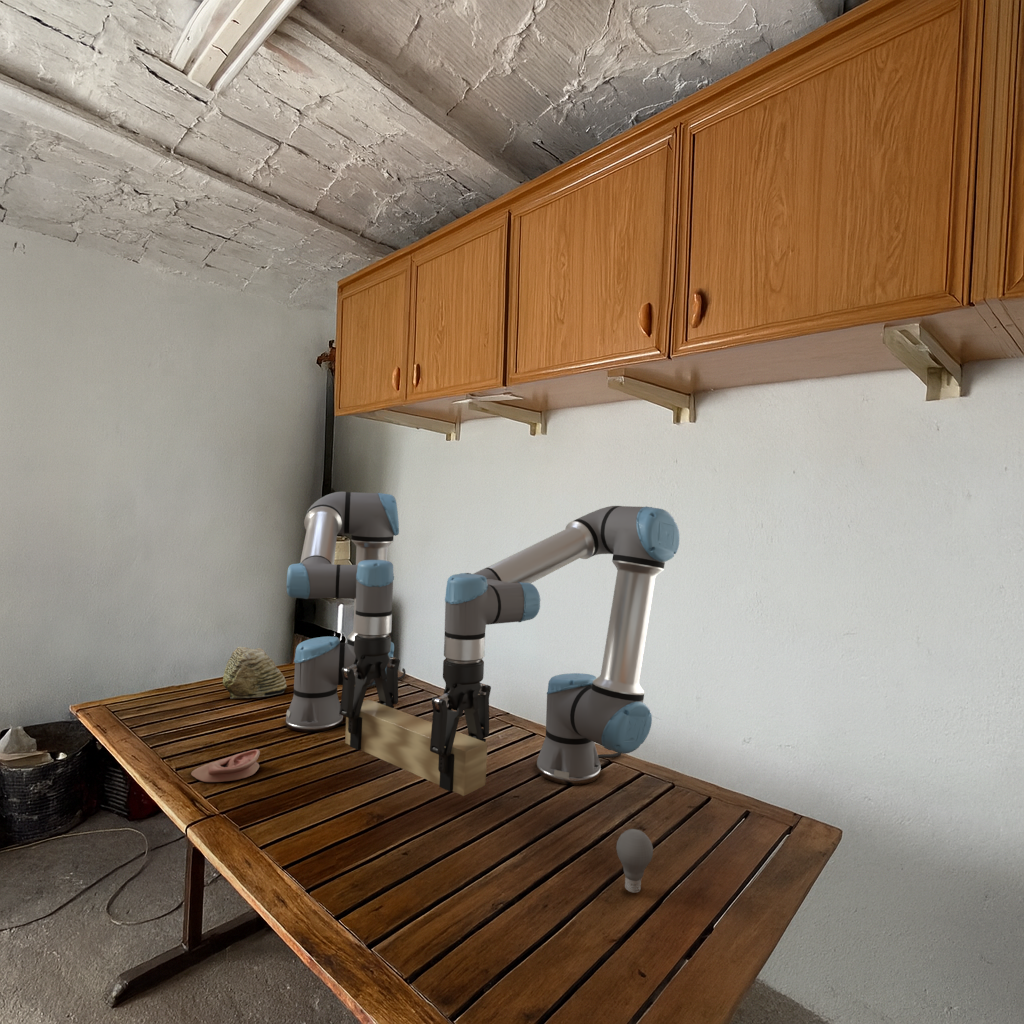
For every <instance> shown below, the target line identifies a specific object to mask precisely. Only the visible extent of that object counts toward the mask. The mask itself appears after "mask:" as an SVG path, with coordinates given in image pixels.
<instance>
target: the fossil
mask: <svg viewBox="0 0 1024 1024" xmlns="http://www.w3.org/2000/svg"><path fill="white" fill-rule="evenodd" d="M222 676H223V677H222V685H223V687H224V688H225V690H226V691H228V693H229V698H230V699H250V698H264V697H271V696H275V695H281V694H284V693H285V691H286V689H287V687H288V686H287V680H286V678H285V676H284V674H283V673H282V672H281V669H279V668H278V667H277V665H276V663H275V662H274V660H273V659H272V658H271V657H270V656H269V655H268V654H267V653H266V652H265V650H264V649H263V648H260V647H258V648H251V647H247V646H246V647H245V646H238V647H237V648H236V649H235V650H233V651H232V653H231V656H230V657H229V659H228V660H227V663H226V666H225V668H224V671H223V675H222Z"/></svg>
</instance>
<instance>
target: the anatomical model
mask: <svg viewBox="0 0 1024 1024" xmlns="http://www.w3.org/2000/svg"><path fill="white" fill-rule="evenodd" d="M260 754H261V752H260V749H257V748H256V749H251V750H247V751H243V752H240V753H236V754H234V755H231V756H228V757H225V758H222V759H219V760H216V761H211V762H209V763H206V764H204V765H201V766H198V767H197V768H195V769H193V770H192V771H191V773H190V775H191V776H192V777H193V778H194V779H196V780H198V781H201V782H203V783H221V782H230V781H231V782H233V781H237V780H241V779H246V778H248V777H250V776H253V775H254V774H256V772H257V771H258V770H259V768H260V764H259V762H258V759H259V757H260Z"/></svg>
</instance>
